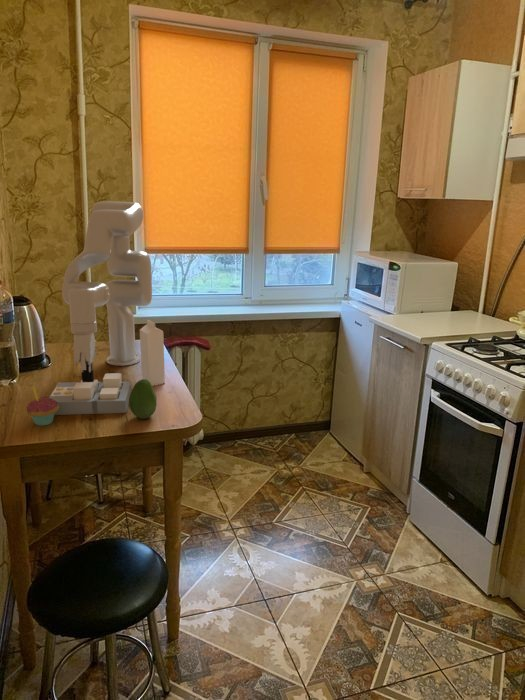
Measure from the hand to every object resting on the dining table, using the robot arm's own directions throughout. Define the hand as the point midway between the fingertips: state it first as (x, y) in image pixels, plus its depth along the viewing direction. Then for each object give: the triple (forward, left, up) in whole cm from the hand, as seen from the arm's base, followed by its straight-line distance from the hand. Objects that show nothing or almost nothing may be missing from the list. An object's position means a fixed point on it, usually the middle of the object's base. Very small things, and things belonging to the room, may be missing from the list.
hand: (88, 382), depth 168 cm
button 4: (+7, +8, -5) cm, 12 cm away
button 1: (+7, 0, -3) cm, 8 cm away
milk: (-13, +19, -6) cm, 24 cm away
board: (+4, +1, -6) cm, 7 cm away
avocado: (+16, +18, -6) cm, 25 cm away
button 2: (0, 0, -5) cm, 5 cm away
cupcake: (+17, -10, -6) cm, 20 cm away
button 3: (0, +8, -3) cm, 8 cm away
